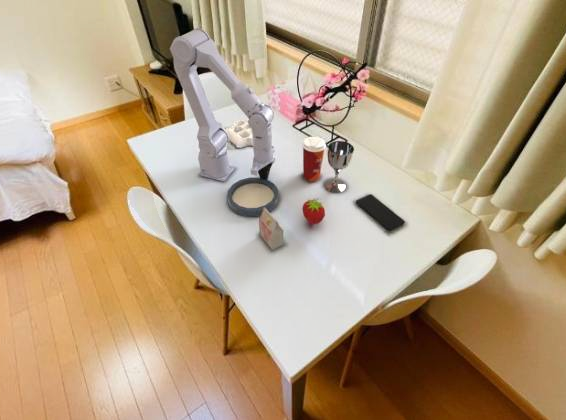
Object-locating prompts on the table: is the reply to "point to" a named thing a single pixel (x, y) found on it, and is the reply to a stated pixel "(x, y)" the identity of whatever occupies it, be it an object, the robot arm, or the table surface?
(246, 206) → the plate
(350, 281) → the table surface
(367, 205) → the smartphone
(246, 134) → the white tube cluster
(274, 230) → the milk carton
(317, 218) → the strawberry
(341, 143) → the silver metal goblet
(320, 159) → the paper cup
